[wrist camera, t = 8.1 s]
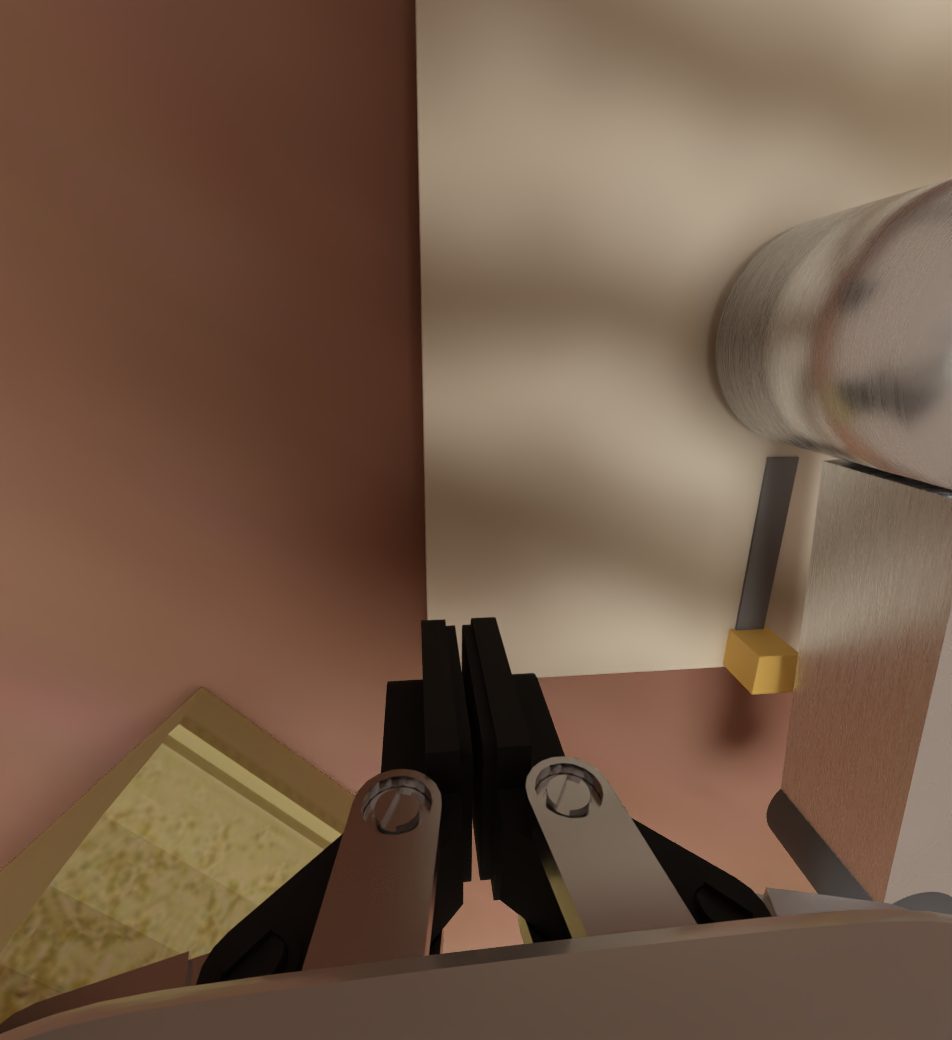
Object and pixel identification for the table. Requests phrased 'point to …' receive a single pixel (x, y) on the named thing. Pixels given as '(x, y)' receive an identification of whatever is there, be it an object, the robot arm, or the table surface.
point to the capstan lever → (863, 533)
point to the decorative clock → (162, 854)
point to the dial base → (636, 306)
